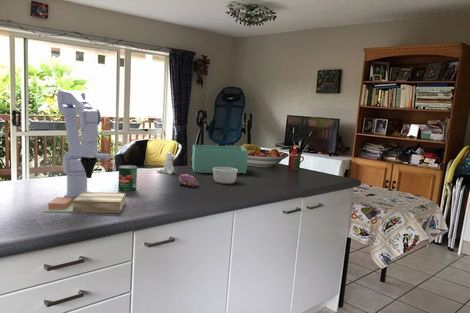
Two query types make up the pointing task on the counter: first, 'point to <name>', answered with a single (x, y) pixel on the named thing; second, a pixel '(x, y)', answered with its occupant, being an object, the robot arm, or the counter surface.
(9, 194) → the counter surface
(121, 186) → the canned tomato
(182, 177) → the pink lumpy figurine
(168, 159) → the seated beast figurine
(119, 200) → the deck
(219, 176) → the ramekin
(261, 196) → the counter surface
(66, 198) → the tile
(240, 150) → the box
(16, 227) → the counter surface
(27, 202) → the counter surface
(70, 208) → the mat
